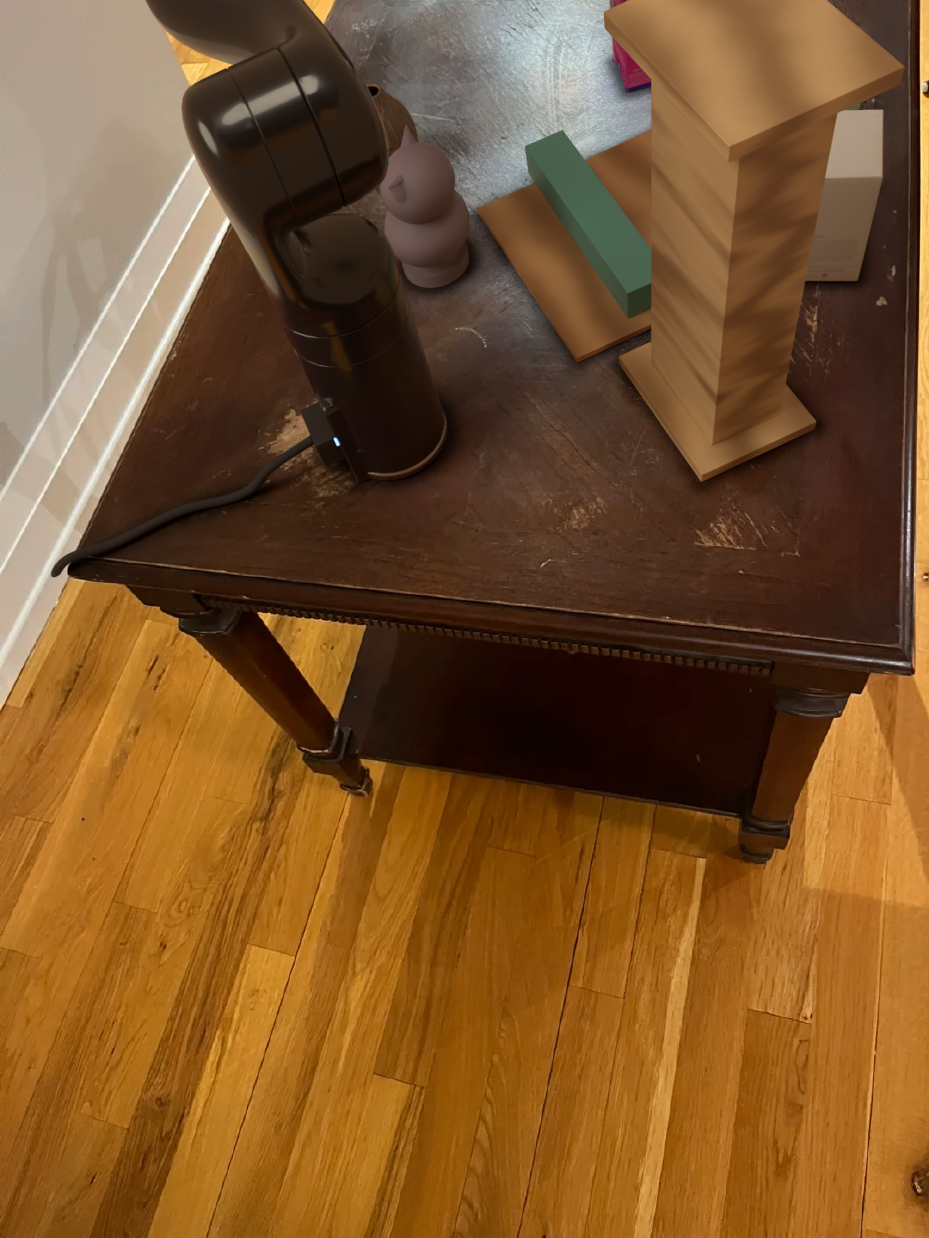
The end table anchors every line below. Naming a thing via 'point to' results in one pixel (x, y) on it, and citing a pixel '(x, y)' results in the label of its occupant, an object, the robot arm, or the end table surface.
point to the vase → (392, 117)
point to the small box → (848, 196)
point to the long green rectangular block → (593, 220)
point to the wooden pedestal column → (736, 205)
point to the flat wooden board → (576, 251)
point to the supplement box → (628, 64)
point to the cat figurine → (425, 214)
